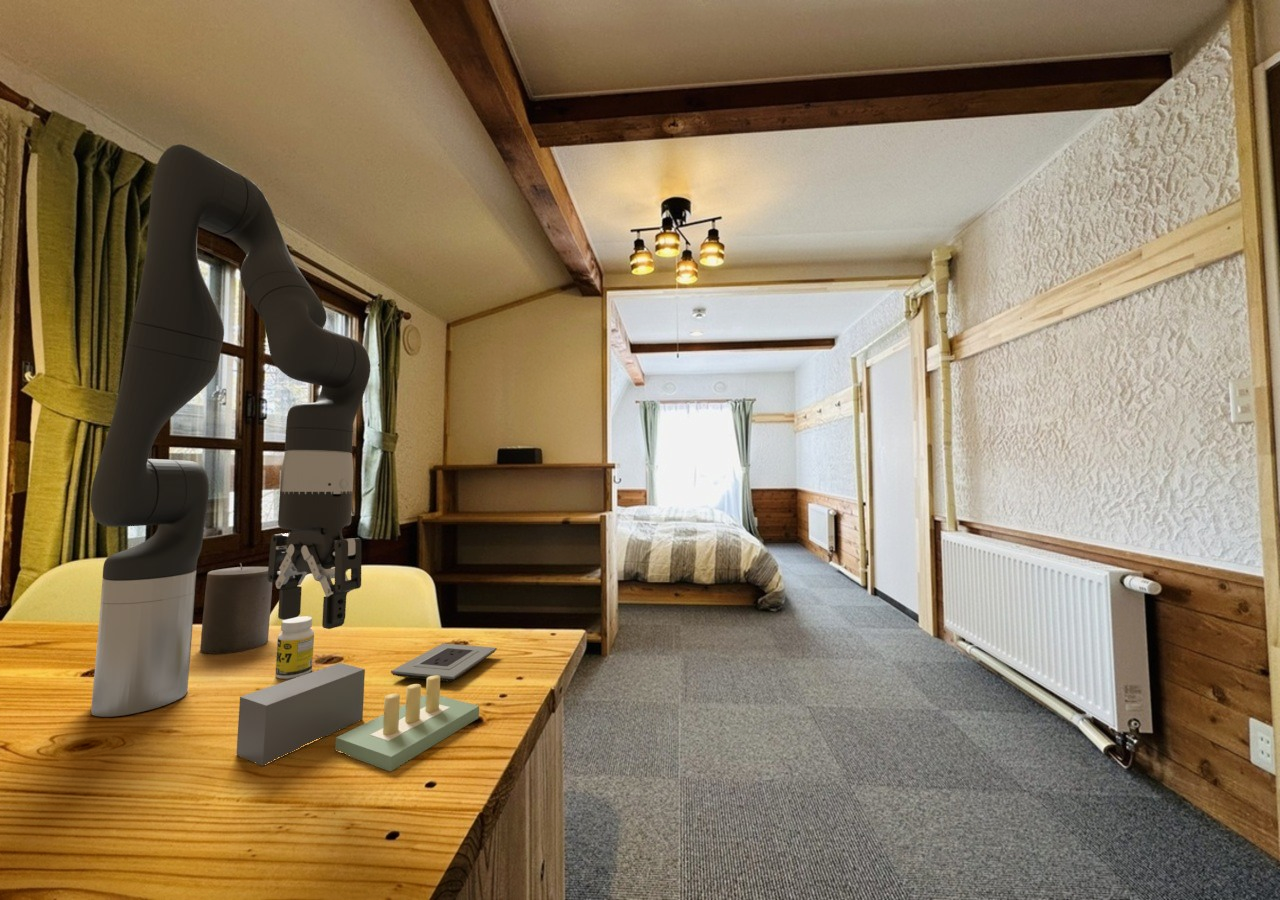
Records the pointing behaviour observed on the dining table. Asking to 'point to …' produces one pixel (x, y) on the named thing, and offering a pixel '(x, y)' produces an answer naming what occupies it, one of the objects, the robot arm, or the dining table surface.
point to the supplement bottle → (295, 648)
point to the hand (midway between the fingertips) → (310, 622)
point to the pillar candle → (236, 610)
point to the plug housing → (299, 712)
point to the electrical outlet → (444, 662)
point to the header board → (407, 726)
